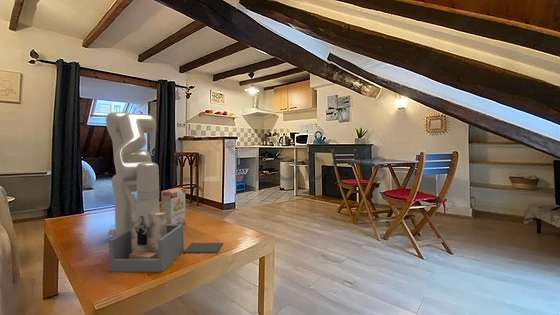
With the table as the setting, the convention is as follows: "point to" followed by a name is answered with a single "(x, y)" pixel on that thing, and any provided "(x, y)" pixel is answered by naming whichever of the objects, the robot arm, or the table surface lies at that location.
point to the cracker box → (174, 206)
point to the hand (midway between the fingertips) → (149, 240)
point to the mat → (203, 248)
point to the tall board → (150, 234)
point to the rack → (168, 252)
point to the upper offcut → (142, 255)
